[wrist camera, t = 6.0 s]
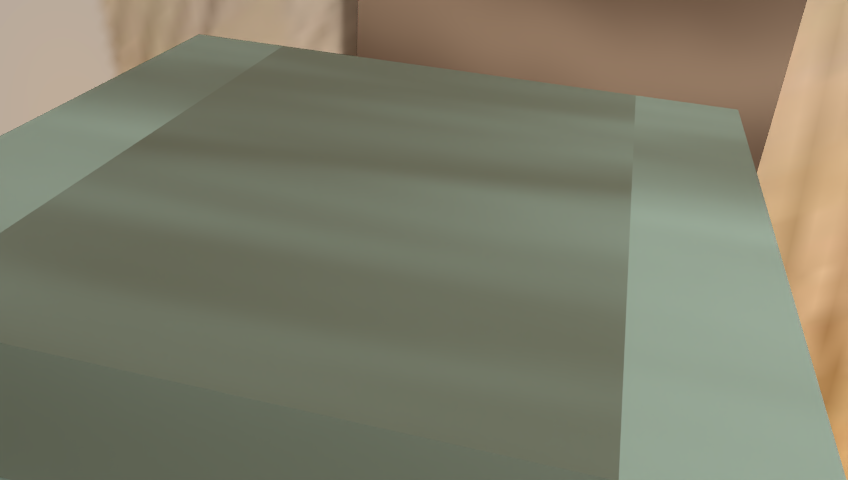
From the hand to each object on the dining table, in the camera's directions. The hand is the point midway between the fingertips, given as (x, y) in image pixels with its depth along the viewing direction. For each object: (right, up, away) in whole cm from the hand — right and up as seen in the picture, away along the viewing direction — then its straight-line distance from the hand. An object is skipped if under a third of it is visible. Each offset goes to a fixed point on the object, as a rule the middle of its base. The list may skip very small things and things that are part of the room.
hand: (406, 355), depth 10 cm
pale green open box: (0, +1, +1) cm, 1 cm away
